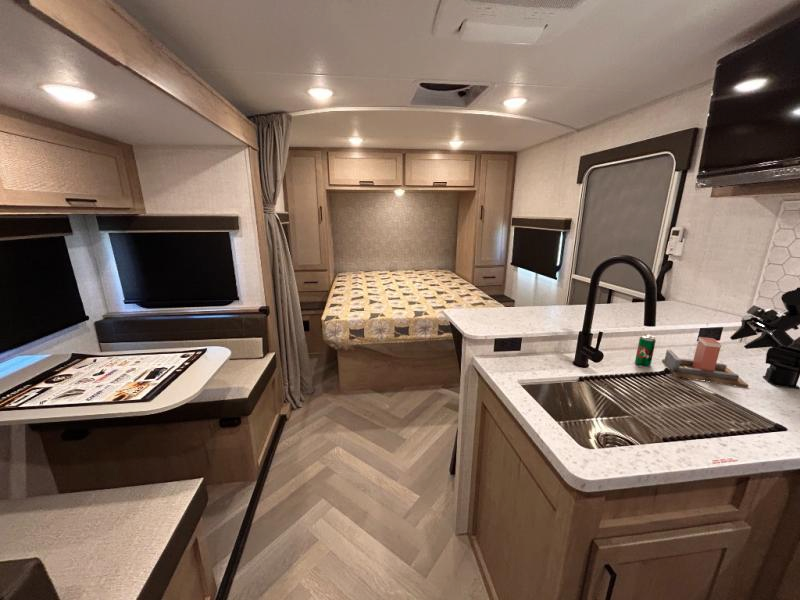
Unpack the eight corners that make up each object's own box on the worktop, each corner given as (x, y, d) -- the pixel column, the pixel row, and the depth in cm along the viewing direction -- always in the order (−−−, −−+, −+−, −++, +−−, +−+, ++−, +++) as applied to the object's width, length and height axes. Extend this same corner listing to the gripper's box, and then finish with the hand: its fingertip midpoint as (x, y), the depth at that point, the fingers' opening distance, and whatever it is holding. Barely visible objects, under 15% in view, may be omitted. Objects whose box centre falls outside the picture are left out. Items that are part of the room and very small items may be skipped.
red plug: (705, 367, 119) (713, 338, 116) (713, 374, 114) (721, 344, 111) (691, 365, 121) (699, 336, 118) (698, 372, 116) (706, 342, 112)
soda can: (645, 361, 128) (650, 334, 125) (653, 367, 123) (659, 339, 120) (631, 361, 128) (637, 333, 125) (639, 366, 124) (645, 338, 120)
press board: (726, 369, 120) (727, 367, 120) (747, 387, 108) (748, 385, 108) (662, 361, 128) (662, 358, 128) (675, 377, 116) (675, 374, 115)
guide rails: (723, 368, 119) (726, 356, 118) (737, 381, 110) (741, 368, 109) (664, 361, 126) (666, 349, 125) (673, 372, 117) (676, 359, 116)
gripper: (756, 293, 113) (708, 318, 120) (792, 305, 97) (734, 333, 104) (779, 317, 112) (730, 341, 119) (820, 333, 96) (760, 360, 103)
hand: (737, 343), depth 111 cm, fingers open, 9 cm apart
